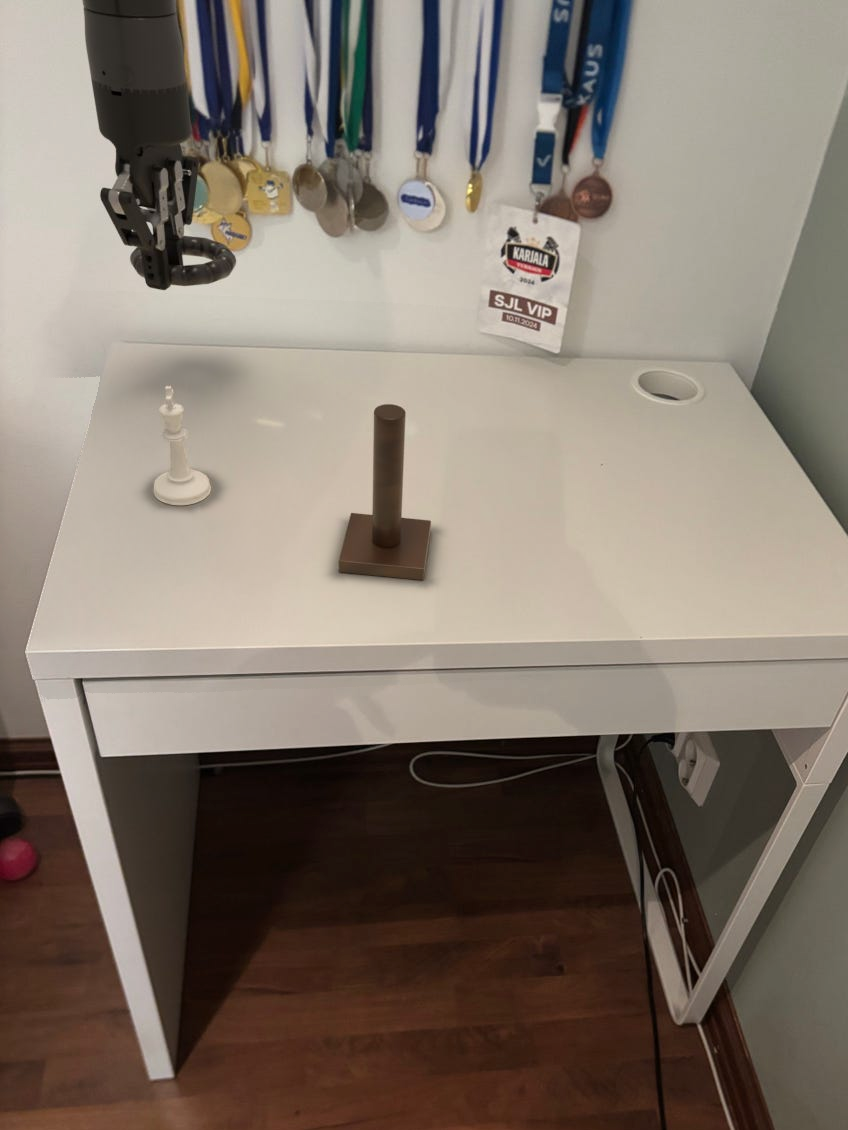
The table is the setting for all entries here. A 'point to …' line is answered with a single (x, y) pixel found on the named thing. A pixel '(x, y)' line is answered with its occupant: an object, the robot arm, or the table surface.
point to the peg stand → (386, 512)
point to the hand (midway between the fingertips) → (165, 281)
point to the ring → (199, 272)
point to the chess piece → (178, 462)
